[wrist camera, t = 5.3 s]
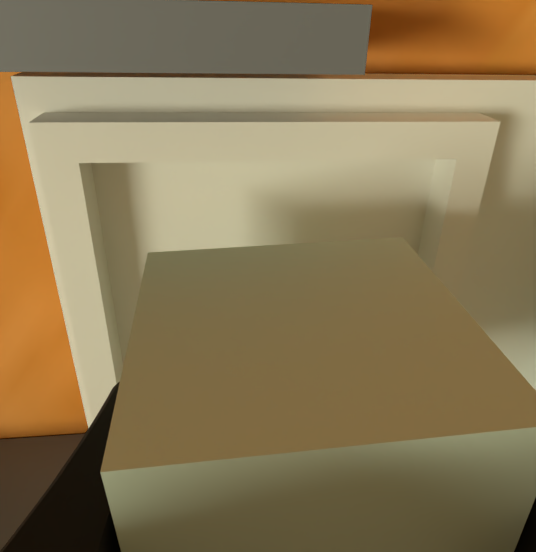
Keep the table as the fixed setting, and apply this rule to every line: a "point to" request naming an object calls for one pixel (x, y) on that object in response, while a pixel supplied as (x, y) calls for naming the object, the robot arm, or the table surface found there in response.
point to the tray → (280, 185)
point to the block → (314, 408)
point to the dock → (159, 59)
